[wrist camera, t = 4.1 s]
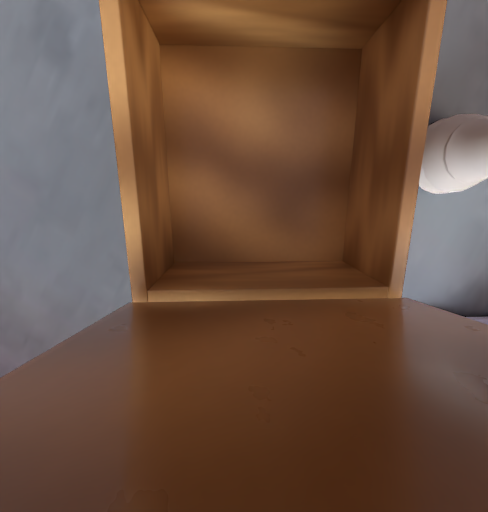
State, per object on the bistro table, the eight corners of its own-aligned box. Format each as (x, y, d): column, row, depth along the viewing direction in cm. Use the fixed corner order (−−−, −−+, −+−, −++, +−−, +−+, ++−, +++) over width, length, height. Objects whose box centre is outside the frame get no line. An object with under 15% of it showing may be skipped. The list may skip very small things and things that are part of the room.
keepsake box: (149, 37, 13) (89, -78, 8) (368, 43, 14) (458, -64, 8) (167, 269, 16) (132, 305, 11) (346, 267, 17) (401, 300, 11)
